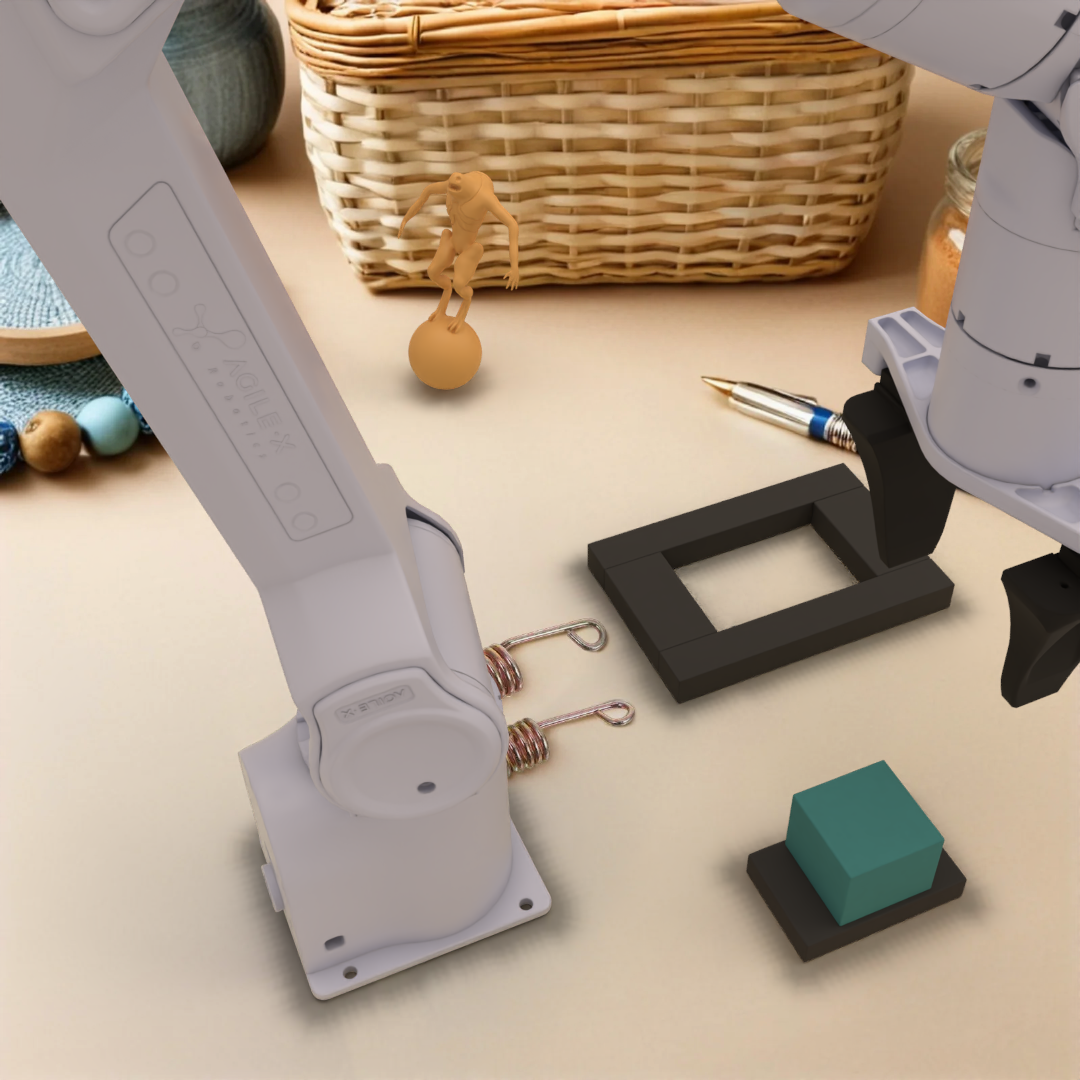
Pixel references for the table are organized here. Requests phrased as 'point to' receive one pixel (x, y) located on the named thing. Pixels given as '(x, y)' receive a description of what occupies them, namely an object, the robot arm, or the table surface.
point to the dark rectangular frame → (778, 638)
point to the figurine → (457, 280)
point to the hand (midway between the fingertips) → (965, 621)
